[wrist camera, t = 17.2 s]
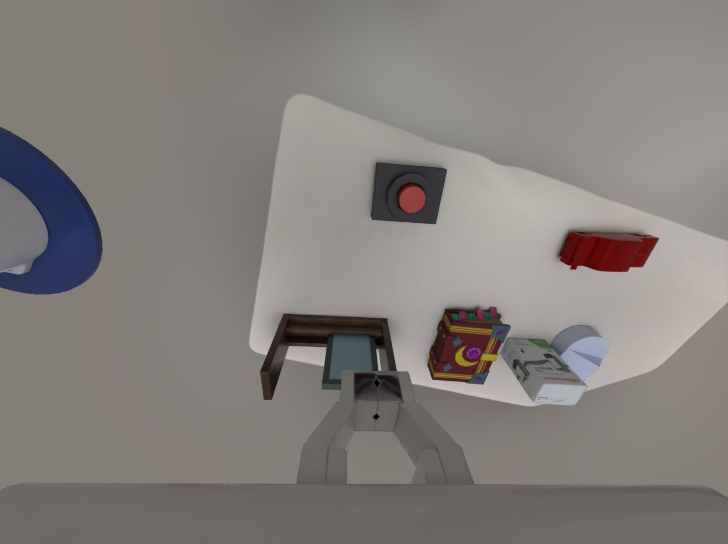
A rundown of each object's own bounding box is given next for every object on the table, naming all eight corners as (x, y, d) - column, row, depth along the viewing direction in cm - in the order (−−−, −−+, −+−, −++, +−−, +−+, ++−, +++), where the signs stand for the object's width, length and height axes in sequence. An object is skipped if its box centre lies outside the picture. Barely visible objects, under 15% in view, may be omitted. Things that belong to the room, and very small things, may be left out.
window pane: (328, 336, 51) (319, 408, 37) (328, 329, 50) (319, 400, 36) (373, 337, 51) (380, 409, 38) (374, 331, 51) (382, 402, 37)
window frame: (285, 338, 53) (263, 399, 40) (283, 313, 50) (259, 371, 37) (383, 342, 54) (392, 402, 41) (387, 318, 51) (397, 375, 39)
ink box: (546, 339, 55) (591, 386, 45) (536, 357, 57) (578, 405, 47) (507, 337, 54) (544, 384, 44) (499, 355, 57) (532, 404, 46)
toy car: (553, 259, 47) (574, 271, 42) (565, 229, 44) (589, 239, 40) (627, 261, 47) (655, 273, 43) (643, 231, 45) (675, 241, 40)
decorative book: (425, 364, 57) (431, 383, 53) (445, 302, 50) (454, 318, 45) (474, 367, 58) (484, 386, 54) (501, 307, 51) (515, 323, 47)
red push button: (395, 209, 38) (397, 212, 36) (399, 183, 36) (401, 185, 35) (420, 210, 38) (423, 213, 37) (424, 185, 37) (427, 187, 35)
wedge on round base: (563, 374, 60) (604, 331, 55) (586, 400, 54) (635, 355, 49) (531, 365, 58) (569, 320, 53) (551, 391, 52) (597, 343, 47)
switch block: (371, 216, 42) (372, 223, 38) (376, 162, 38) (378, 164, 35) (432, 220, 43) (439, 227, 39) (442, 168, 39) (451, 170, 35)
